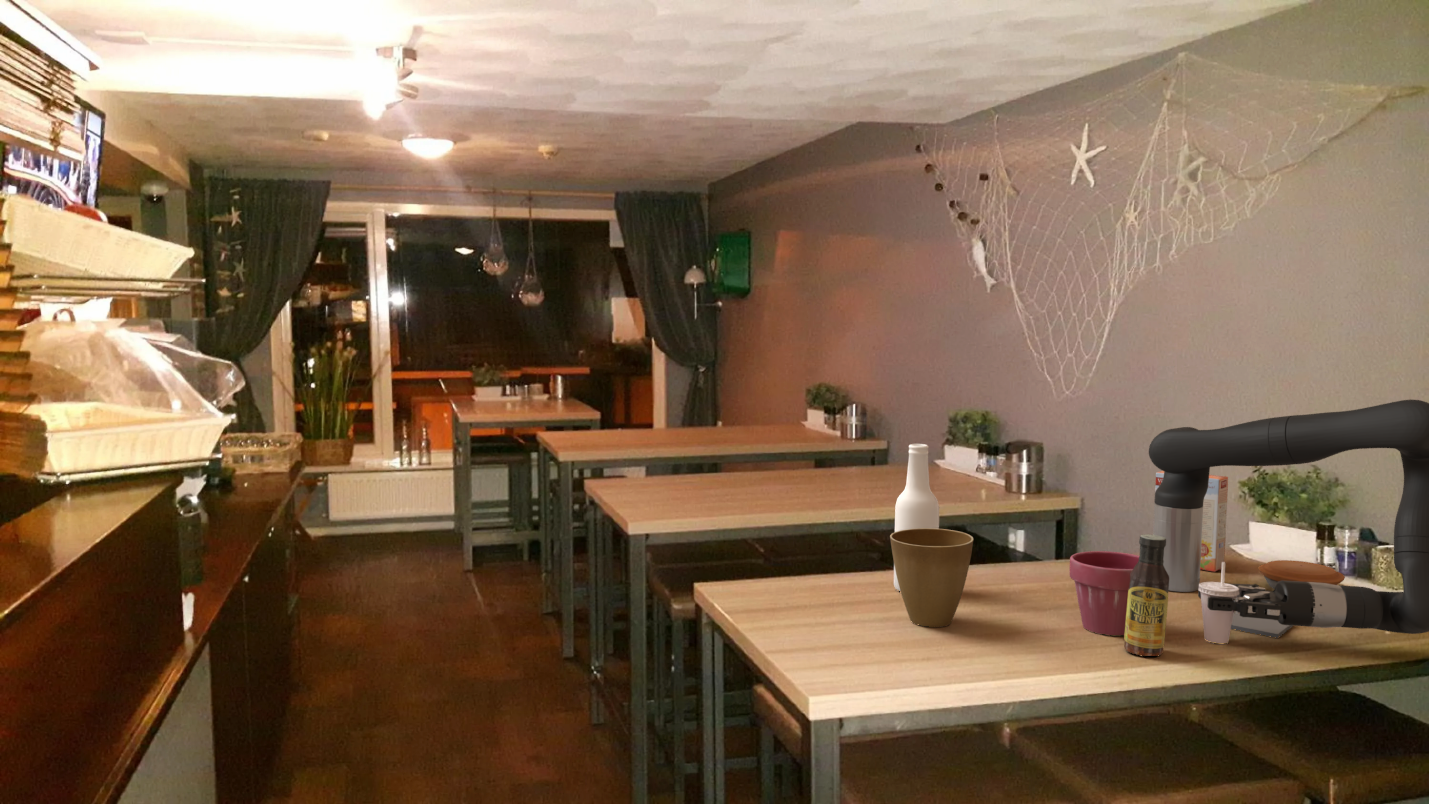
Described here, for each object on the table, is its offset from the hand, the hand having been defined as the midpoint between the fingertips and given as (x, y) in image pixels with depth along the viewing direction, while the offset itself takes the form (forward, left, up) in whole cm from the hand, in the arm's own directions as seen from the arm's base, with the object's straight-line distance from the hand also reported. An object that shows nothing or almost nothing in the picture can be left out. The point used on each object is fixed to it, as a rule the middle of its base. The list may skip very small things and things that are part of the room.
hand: (1203, 597), depth 178 cm
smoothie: (+2, +2, -8) cm, 8 cm away
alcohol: (-51, -16, -8) cm, 54 cm away
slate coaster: (+2, +16, -8) cm, 17 cm away
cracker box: (-29, +50, -8) cm, 58 cm away
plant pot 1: (-35, -30, -8) cm, 47 cm away
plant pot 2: (-13, -7, -8) cm, 17 cm away
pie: (-5, +50, -8) cm, 50 cm away
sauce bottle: (-2, -14, -8) cm, 17 cm away
